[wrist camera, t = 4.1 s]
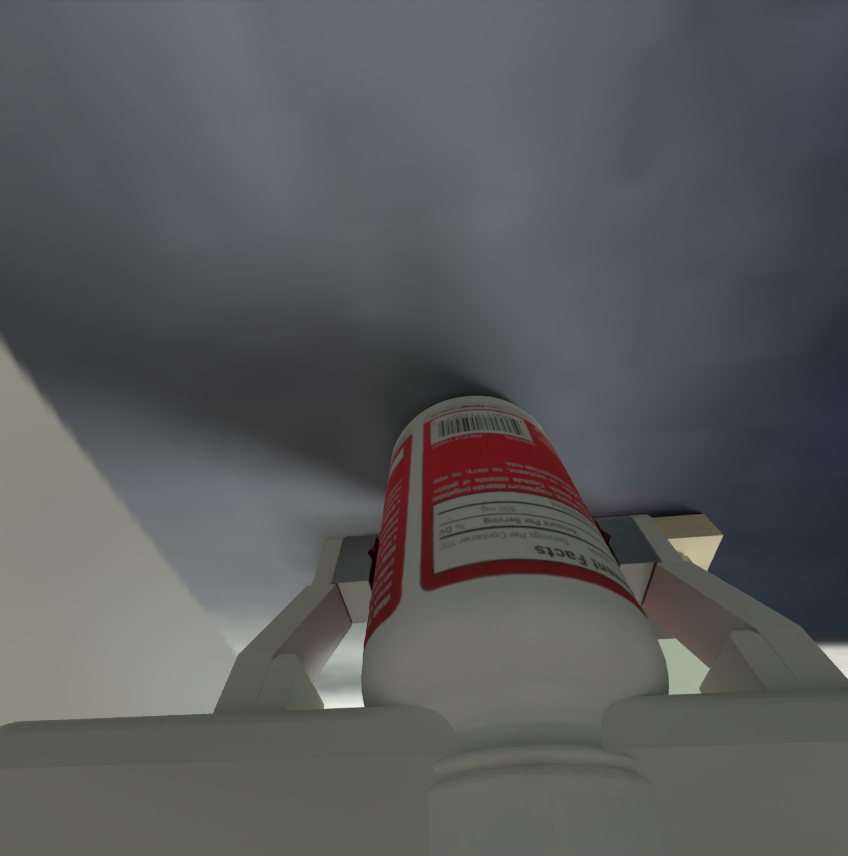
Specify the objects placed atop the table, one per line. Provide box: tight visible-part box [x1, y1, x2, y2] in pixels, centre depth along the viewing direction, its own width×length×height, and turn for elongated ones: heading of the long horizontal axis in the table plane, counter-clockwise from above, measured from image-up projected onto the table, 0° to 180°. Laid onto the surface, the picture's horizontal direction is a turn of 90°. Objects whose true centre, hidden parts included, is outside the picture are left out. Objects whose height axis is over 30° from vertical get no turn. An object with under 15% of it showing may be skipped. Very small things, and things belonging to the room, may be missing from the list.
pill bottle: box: [361, 396, 677, 856], centre depth 10 cm, size 6×6×11 cm
